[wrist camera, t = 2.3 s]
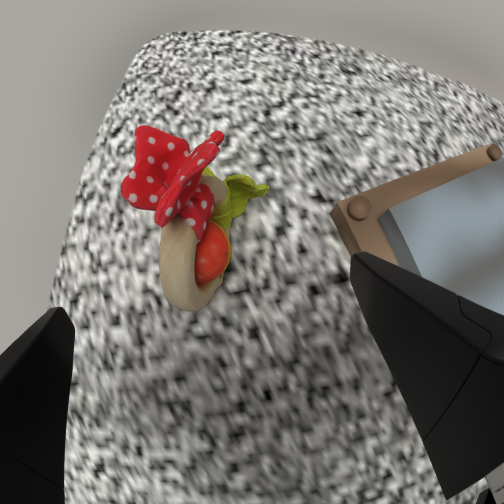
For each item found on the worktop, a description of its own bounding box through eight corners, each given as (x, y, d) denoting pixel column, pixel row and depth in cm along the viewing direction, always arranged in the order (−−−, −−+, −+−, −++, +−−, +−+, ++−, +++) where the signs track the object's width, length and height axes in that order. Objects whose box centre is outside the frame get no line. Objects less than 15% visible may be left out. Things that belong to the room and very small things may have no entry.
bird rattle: (260, 287, 22) (272, 156, 21) (255, 369, 11) (280, 114, 10) (173, 278, 22) (181, 151, 21) (102, 345, 11) (106, 112, 10)
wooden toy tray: (548, 319, 19) (576, 315, 15) (421, 436, 17) (449, 451, 13) (480, 153, 23) (502, 133, 19) (329, 213, 21) (345, 189, 17)
